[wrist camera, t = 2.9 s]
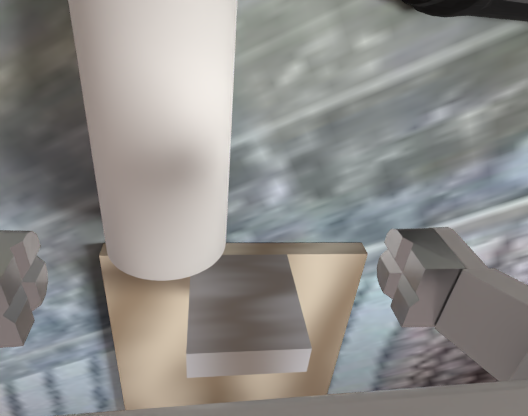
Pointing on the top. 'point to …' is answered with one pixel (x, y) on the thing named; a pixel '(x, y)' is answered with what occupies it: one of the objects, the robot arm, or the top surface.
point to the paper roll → (159, 127)
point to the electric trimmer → (473, 8)
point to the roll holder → (234, 325)
